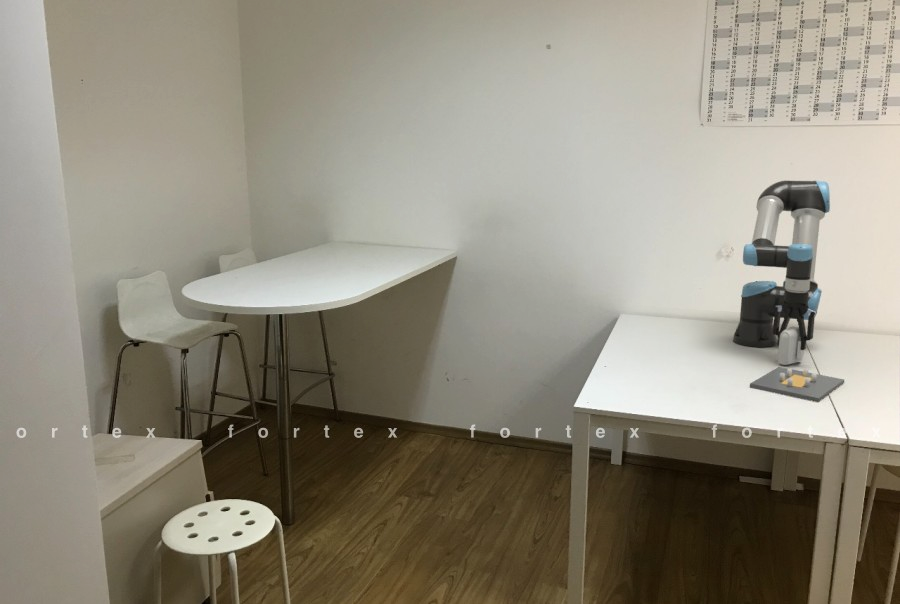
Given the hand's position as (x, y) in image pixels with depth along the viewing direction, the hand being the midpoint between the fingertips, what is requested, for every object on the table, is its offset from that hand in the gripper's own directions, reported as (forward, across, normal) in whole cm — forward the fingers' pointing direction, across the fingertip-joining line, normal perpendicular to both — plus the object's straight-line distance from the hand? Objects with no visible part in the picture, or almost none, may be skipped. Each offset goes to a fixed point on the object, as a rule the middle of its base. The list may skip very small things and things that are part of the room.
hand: (790, 357), depth 250 cm
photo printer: (+2, 0, 0) cm, 2 cm away
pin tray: (+2, +10, -22) cm, 25 cm away
